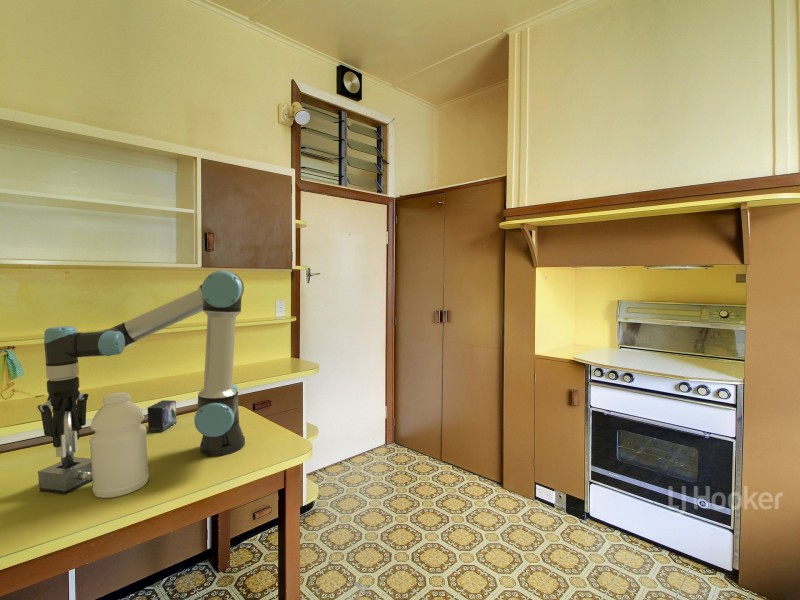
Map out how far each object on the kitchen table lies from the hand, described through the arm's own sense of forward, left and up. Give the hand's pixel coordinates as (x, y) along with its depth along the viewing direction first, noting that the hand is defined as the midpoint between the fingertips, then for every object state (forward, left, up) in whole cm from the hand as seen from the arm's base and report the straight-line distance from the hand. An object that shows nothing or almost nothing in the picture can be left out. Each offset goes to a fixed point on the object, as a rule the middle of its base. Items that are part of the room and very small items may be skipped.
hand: (67, 453), depth 123 cm
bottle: (-18, -2, -10) cm, 20 cm away
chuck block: (-1, 0, -10) cm, 10 cm away
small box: (+10, -46, -10) cm, 48 cm away
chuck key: (0, 0, -3) cm, 3 cm away
